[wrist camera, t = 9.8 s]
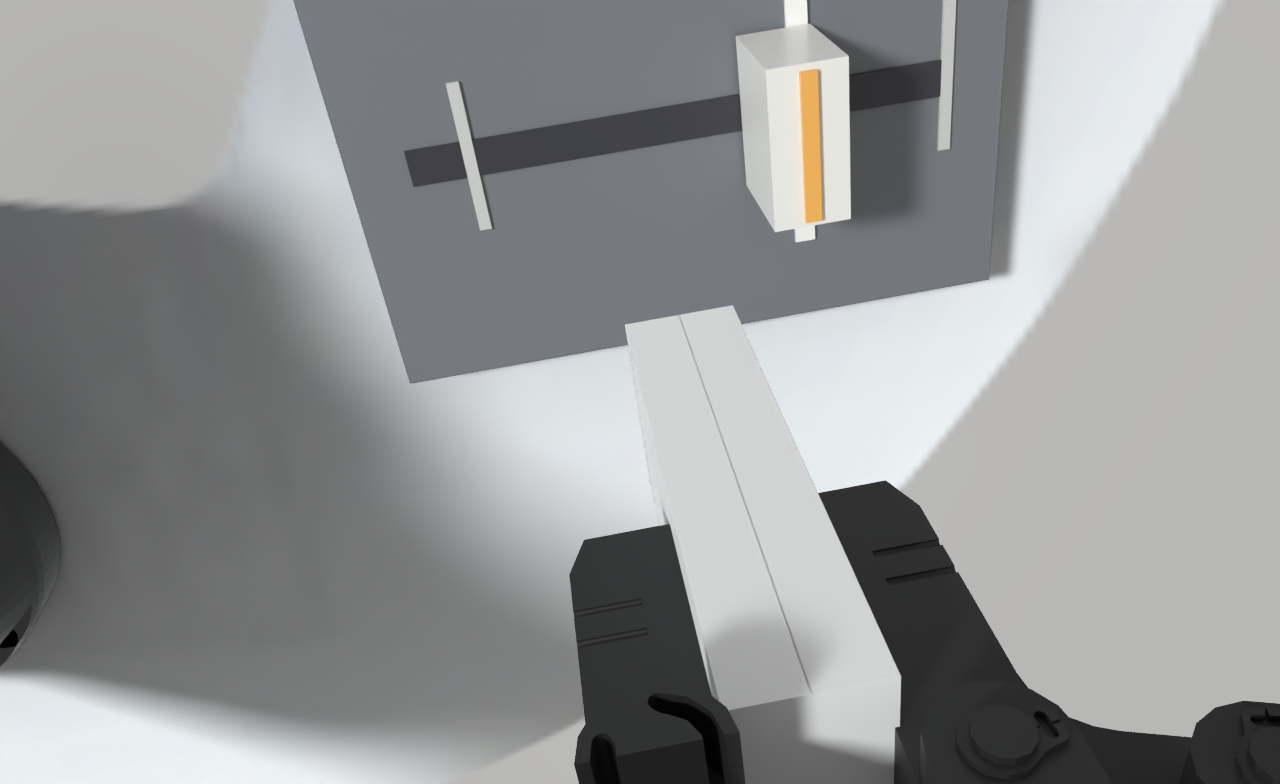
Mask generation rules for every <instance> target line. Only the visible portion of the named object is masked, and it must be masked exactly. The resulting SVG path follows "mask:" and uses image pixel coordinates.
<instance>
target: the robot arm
mask: <svg viewBox="0 0 1280 784" xmlns="http://www.w3.org/2000/svg"><path fill="white" fill-rule="evenodd" d="M625 329H626V335H627V341H628V348H629V354H630V361H631V367H632V373H633V380H634V386H635V392H636V399H637V405H638V411H639V418H640V424H641V430H642V437H643V443H644V450H645V456H646V462H647V469H648V475H649V481H650V485H651V490H652V494H653V498H654V503H655V507H656V512H657V516H658V520H659V525H660V526H656V527H651V528H646V529H640V530H635V531H630V532H624V533H619V534H614V535H608V536H603V537H598V538H592V539H587V540H584V542H583V544H582V546H581V549H580V551H579V554H578V556H577V558H576V561H575V563H574V565H573V568H572V570H571V573H570V583H571V593H572V602H573V611H574V617H575V618H574V621H575V630H576V639H577V645H578V648H577V649H578V658H579V667H580V676H581V686H582V695H583V704H584V714H585V723H586V724H585V726H584V728H583V729H582V731H581V733H580V734H579V736H578V741H577V749H576V756H575V763H574V765H575V769H576V773H577V777H578V780H579V784H1280V704H1275V703H1263V702H1250V701H1241V702H1237V703H1233V704H1229V705H1225V706H1221V707H1217V708H1214V709H1213V710H1212V711H1211V712H1210V713H1208V714H1207V715H1206V716H1205V717H1204V718H1202V719H1201V720H1200V721H1199V722H1198V723H1196V726H1195V730H1194V733H1193V736H1192V738H1190V737H1179V736H1169V735H1157V734H1146V733H1135V732H1124V731H1116V730H1110V729H1105V728H1099V727H1094V726H1091V725H1089V724H1086V723H1083V722H1080V721H1078V720H1075V719H1072V718H1069V717H1068V716H1067V715H1066V714H1065V713H1064V712H1063V711H1062V709H1061V708H1060V707H1059V706H1058V705H1056V704H1055V703H1053V702H1051V701H1049V700H1048V699H1046V698H1045V697H1043V696H1041V695H1039V694H1038V693H1036V692H1034V691H1033V690H1031V689H1028V687H1027V686H1026V685H1025V683H1024V682H1023V681H1022V679H1021V678H1020V677H1019V675H1018V674H1017V673H1016V671H1015V669H1014V668H1013V666H1012V664H1011V663H1010V661H1009V659H1008V657H1007V656H1006V654H1005V652H1004V651H1003V649H1002V647H1001V645H1000V644H999V642H998V640H997V638H996V637H995V635H994V633H993V631H992V630H991V628H990V626H989V625H988V623H987V621H986V619H985V618H984V616H983V614H982V612H981V611H980V609H979V607H978V606H977V604H976V602H975V600H974V599H973V597H972V595H971V594H970V592H969V590H968V589H967V587H966V585H965V583H964V581H963V580H962V578H961V576H960V575H959V573H958V572H957V573H956V571H955V568H954V564H953V563H952V561H951V559H950V557H949V556H948V554H947V552H946V551H945V549H944V547H943V545H940V544H939V539H938V537H937V535H936V533H935V531H934V530H933V528H932V526H931V525H930V523H929V521H928V520H927V518H926V516H925V514H924V512H923V511H922V509H921V508H920V506H919V505H918V504H917V503H915V502H914V501H913V500H911V499H910V498H908V497H907V496H906V495H904V494H903V493H902V492H900V491H899V490H898V489H896V488H895V487H894V486H892V485H891V484H890V483H888V482H887V481H881V482H875V483H870V484H865V485H859V486H854V487H849V488H844V489H838V490H833V491H828V492H822V493H818V492H817V490H816V488H815V485H814V483H813V481H812V479H811V477H810V474H809V472H808V470H807V468H806V466H805V463H804V461H803V459H802V457H801V455H800V452H799V450H798V448H797V446H796V444H795V441H794V439H793V437H792V435H791V433H790V430H789V428H788V426H787V424H786V421H785V419H784V417H783V415H782V413H781V410H780V408H779V406H778V404H777V402H776V399H775V397H774V395H773V393H772V391H771V388H770V386H769V384H768V382H767V380H766V377H765V375H764V373H763V371H762V368H761V366H760V364H759V362H758V360H757V357H756V355H755V353H754V351H753V349H752V346H751V344H750V342H749V340H748V338H747V335H746V333H745V331H744V329H743V327H742V324H741V322H740V320H739V318H738V316H737V313H736V311H735V309H734V307H733V305H731V306H726V307H720V308H715V309H709V310H704V311H698V312H692V313H687V314H681V315H676V316H670V317H665V318H659V319H653V320H648V321H642V322H637V323H631V324H625ZM59 566H60V541H59V534H58V530H57V526H56V523H55V519H54V516H53V514H52V511H51V509H50V507H49V504H48V503H47V501H46V499H45V497H44V495H43V493H42V492H41V490H40V489H39V487H38V485H37V484H36V482H35V481H34V480H33V478H32V477H31V476H30V474H29V473H28V472H27V470H26V469H25V468H24V467H23V466H22V465H21V464H20V462H19V461H18V460H17V459H16V458H15V457H14V456H13V455H12V454H11V453H10V452H9V451H8V450H7V449H6V448H5V447H3V446H2V445H1V444H0V666H1V665H2V664H3V663H4V662H5V661H7V660H8V659H9V658H10V657H11V656H12V655H13V654H14V653H15V652H16V651H17V650H18V648H19V647H20V646H21V644H22V643H23V642H24V641H25V639H26V638H27V637H28V635H29V634H30V632H31V631H32V629H33V627H34V625H35V623H36V622H37V620H38V618H39V616H40V614H41V612H42V610H43V608H44V606H45V604H46V602H47V600H48V598H49V596H50V594H51V592H52V590H53V588H54V585H55V582H56V579H57V576H58V571H59Z"/></svg>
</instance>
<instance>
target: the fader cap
mask: <svg viewBox="0 0 1280 784" xmlns="http://www.w3.org/2000/svg"><path fill="white" fill-rule="evenodd" d="M736 49H737V63H738V76H739V90H740V103H741V117H742V131H743V144H744V158H745V171H746V185H747V187H748V188H749V190H750V192H751V193H752V195H753V197H754V198H755V200H756V202H757V203H758V205H759V207H760V208H761V210H762V211H763V213H764V215H765V216H766V218H767V220H768V221H769V223H770V225H771V226H772V228H773V230H774V231H775V232H779V231H785V230H791V229H796V228H802V227H808V226H813V225H819V224H825V223H830V222H836V221H842V220H847V219H851V189H850V112H849V56H848V55H847V54H846V53H845V52H844V51H842V50H841V49H840V48H839V47H838V46H836V45H835V44H834V43H833V42H832V41H830V40H829V39H828V38H827V37H826V36H824V35H823V34H822V33H821V32H820V31H818V30H817V29H816V28H815V27H814V26H812V25H811V24H804V25H798V26H792V27H786V28H780V29H774V30H768V31H763V32H757V33H751V34H745V35H739V36H736Z"/></svg>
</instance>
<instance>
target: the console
mask: <svg viewBox="0 0 1280 784" xmlns="http://www.w3.org/2000/svg"><path fill="white" fill-rule="evenodd" d="M293 1H294V4H295V7H296V11H297V14H298V17H299V21H300V24H301V27H302V30H303V34H304V37H305V40H306V44H307V47H308V50H309V53H310V57H311V60H312V63H313V66H314V70H315V73H316V76H317V80H318V83H319V86H320V89H321V93H322V96H323V99H324V103H325V106H326V109H327V112H328V116H329V119H330V122H331V126H332V129H333V132H334V135H335V139H336V142H337V145H338V148H339V152H340V155H341V158H342V162H343V165H344V168H345V171H346V175H347V178H348V181H349V185H350V188H351V191H352V194H353V198H354V201H355V204H356V208H357V211H358V214H359V217H360V221H361V224H362V227H363V230H364V234H365V237H366V240H367V244H368V247H369V250H370V253H371V257H372V260H373V263H374V267H375V270H376V273H377V276H378V280H379V283H380V286H381V290H382V293H383V296H384V299H385V303H386V306H387V309H388V313H389V316H390V319H391V322H392V326H393V329H394V332H395V335H396V339H397V342H398V345H399V349H400V352H401V355H402V358H403V362H404V365H405V368H406V372H407V375H408V378H409V381H410V384H411V383H417V382H422V381H428V380H434V379H439V378H445V377H450V376H456V375H461V374H467V373H472V372H478V371H483V370H489V369H495V368H500V367H506V366H511V365H517V364H522V363H528V362H533V361H539V360H545V359H550V358H556V357H561V356H567V355H572V354H578V353H583V352H589V351H594V350H600V349H606V348H611V347H617V346H622V345H628V341H627V335H626V329H625V324H631V323H637V322H642V321H648V320H653V319H659V318H665V317H670V316H676V315H681V314H687V313H692V312H698V311H704V310H709V309H715V308H720V307H726V306H731V305H733V307H734V309H735V311H736V313H737V316H738V318H739V320H740V322H741V324H744V323H750V322H755V321H761V320H767V319H772V318H778V317H783V316H789V315H794V314H800V313H805V312H811V311H817V310H822V309H828V308H833V307H839V306H844V305H850V304H855V303H861V302H866V301H872V300H878V299H883V298H889V297H894V296H900V295H905V294H911V293H916V292H922V291H928V290H933V289H939V288H944V287H950V286H955V285H961V284H966V283H972V282H978V281H983V280H989V268H990V254H991V240H992V226H993V212H994V198H995V184H996V170H997V156H998V142H999V128H1000V114H1001V100H1002V86H1003V72H1004V58H1005V44H1006V30H1007V16H1008V2H1009V0H293ZM804 24H811V25H812V26H814V27H815V28H816V29H817V30H818V31H820V32H821V33H822V34H823V35H824V36H826V37H827V38H828V39H829V40H830V41H832V42H833V43H834V44H835V45H836V46H838V47H839V48H840V49H841V50H842V51H844V52H845V53H846V54H847V55H848V56H849V112H850V189H851V219H847V220H842V221H836V222H830V223H825V224H819V225H813V226H808V227H802V228H796V229H791V230H785V231H779V232H775V231H774V230H773V228H772V226H771V225H770V223H769V221H768V220H767V218H766V216H765V215H764V213H763V211H762V210H761V208H760V207H759V205H758V203H757V202H756V200H755V198H754V197H753V195H752V193H751V192H750V190H749V188H748V187H747V185H746V171H745V158H744V144H743V131H742V117H741V103H740V90H739V76H738V63H737V49H736V36H739V35H745V34H751V33H757V32H763V31H768V30H774V29H780V28H786V27H792V26H798V25H804Z"/></svg>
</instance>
